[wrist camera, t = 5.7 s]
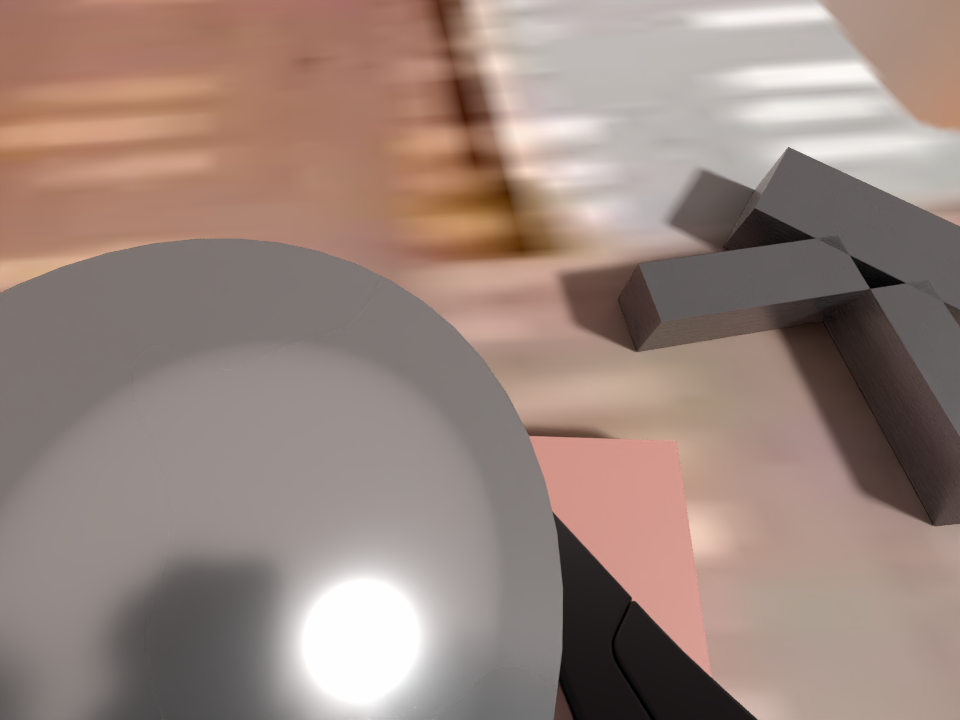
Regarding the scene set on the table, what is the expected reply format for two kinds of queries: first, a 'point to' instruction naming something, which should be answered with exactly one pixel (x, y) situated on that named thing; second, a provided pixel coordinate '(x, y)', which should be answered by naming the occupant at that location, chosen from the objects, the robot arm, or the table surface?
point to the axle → (263, 499)
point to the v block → (834, 303)
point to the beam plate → (631, 523)
